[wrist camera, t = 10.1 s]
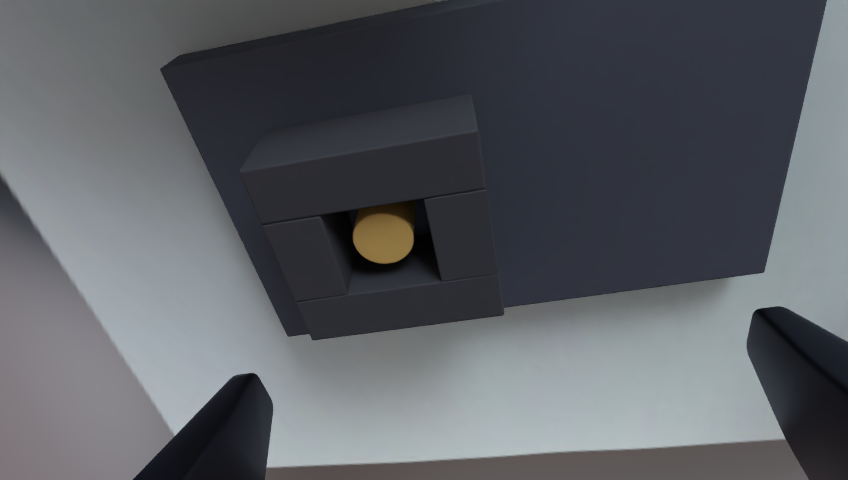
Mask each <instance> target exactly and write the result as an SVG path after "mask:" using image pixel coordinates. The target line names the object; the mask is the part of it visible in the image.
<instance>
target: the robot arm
mask: <svg viewBox="0 0 848 480" xmlns="http://www.w3.org/2000/svg"><path fill="white" fill-rule="evenodd" d="M747 351H748V355H749V358H750V360H751V362H752V364H753V367H754V369H755V371H756V373H757V376H758V378H759V380H760V383H761V385H762V387H763V389H764V392H765V394H766V396H767V398H768V401H769V403H770V405H771V407H772V410H773V412H774V414H775V416H776V419H777V421H778V423H779V425H780V428H781V430H782V432H783V434H784V436H785V438H786V440H787V442H788V444H789V445H790V447H791V449H792V451H793V453H794V454H795V456H796V458H797V460H798V461H799V463H800V465H801V467H802V468H803V470H804V472H805V473H806V475H807V477H808V479H809V480H848V342H847V341H845V340H843V339H841V338H839V337H838V336H836V335H834V334H832V333H830V332H829V331H827V330H825V329H823V328H821V327H820V326H818V325H816V324H814V323H812V322H810V321H809V320H807V319H805V318H803V317H801V316H800V315H798V314H796V313H794V312H792V311H791V310H789V309H787V308H784V307H780V306H778V307H769V308H761V309H757V310H756V311H755V312H754V313H753V315H752V319H751V324H750V329H749V334H748V338H747ZM272 416H273V403H272V400H271V398H270V396H269V394H268V392H267V391H266V389H265V387H264V385H263V384H262V382H261V380H260V378H259V377H258V376H257V375H256V374H254V373H248V374H240V375H236V376H233V377H232V378H231V379H230V380H229V381H228V382H227V383H226V384H225V385H224V386H223V387H222V388H221V389H220V390H219V391H218V392H217V393H216V394H215V395H214V396H213V397H212V398H211V399H210V400H209V401H208V403H207V404H206V405H205V406H204V407H203V408H202V409H201V410H200V411H199V412H198V413H197V414H196V415H195V416H194V417H193V418H192V419H191V420H190V421H189V422H188V423H187V424H186V425H185V426H184V427H183V428H182V429H181V430H180V431H179V432H178V434H177V435H176V436H175V437H174V438H173V439H172V440H171V441H170V442H169V443H168V444H167V445H166V446H165V447H164V448H163V449H162V450H161V451H160V452H159V453H158V454H157V455H156V456H155V457H154V459H152V460H151V461H150V463H149V464H148V465H147V466H146V467H145V468H144V469H143V470H142V471H141V472H140V473H139V474H138V475H137V476H136V477H135V478H134V479H133V480H265V473H266V465H267V457H268V449H269V441H270V432H271V424H272Z"/></svg>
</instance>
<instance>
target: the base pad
mask: <svg viewBox="0 0 848 480" xmlns="http://www.w3.org/2000/svg"><path fill="white" fill-rule="evenodd" d="M826 2H827V0H446V1H441V2H436V3H432V4H427V5H422V6H417V7H412V8H407V9H403V10H398V11H393V12H388V13H383V14H378V15H374V16H369V17H364V18H359V19H354V20H349V21H344V22H340V23H335V24H330V25H325V26H320V27H315V28H311V29H306V30H301V31H296V32H291V33H286V34H282V35H277V36H272V37H267V38H262V39H257V40H252V41H248V42H243V43H238V44H233V45H228V46H223V47H219V48H214V49H209V50H204V51H199V52H194V53H190V54H185V55H180V56H178V57H176V58H175V59H173V60H172V61H171V62H169V63H168V64H166V65H165V66H163V67H162V68H161V69H160V70H161V72H162V75H163V77H164V79H165V81H166V83H167V85H168V87H169V89H170V91H171V93H172V95H173V98H174V100H175V102H176V104H177V106H178V108H179V110H180V112H181V114H182V116H183V118H184V121H185V123H186V125H187V127H188V129H189V131H190V133H191V135H192V137H193V139H194V141H195V144H196V146H197V148H198V150H199V152H200V154H201V156H202V158H203V160H204V162H205V165H206V167H207V169H208V171H209V173H210V175H211V177H212V179H213V181H214V183H215V185H216V188H217V190H218V192H219V194H220V196H221V198H222V200H223V202H224V204H225V206H226V208H227V211H228V213H229V215H230V217H231V219H232V221H233V223H234V225H235V227H236V229H237V231H238V234H239V236H240V238H241V240H242V242H243V244H244V246H245V248H246V250H247V252H248V254H249V257H250V259H251V261H252V263H253V265H254V267H255V269H256V271H257V273H258V275H259V277H260V280H261V282H262V284H263V286H264V288H265V290H266V292H267V294H268V296H269V298H270V300H271V303H272V305H273V307H274V309H275V311H276V313H277V315H278V317H279V319H280V321H281V324H282V326H283V328H284V330H285V332H286V334H287V336H289V337H290V336H297V335H305V334H309V331H308V329H307V327H306V325H305V322H304V320H303V318H302V316H301V313H300V311H299V309H298V307H297V304H296V301H295V300H294V297H293V295H292V293H291V291H290V288H289V286H288V284H287V281H286V279H285V277H284V275H283V272H282V270H281V268H280V266H279V263H278V261H277V259H276V256H275V254H274V252H273V250H272V247H271V245H270V243H269V241H268V238H267V236H266V234H265V232H264V229H263V227H262V225H263V224H262V223H261V222H260V220H259V217H258V215H257V213H256V211H255V208H254V206H253V204H252V202H251V199H250V197H249V195H248V192H247V190H246V188H245V186H244V183H243V181H242V179H241V177H240V174H239V170H240V168H241V167H242V165H243V164H244V162H245V161H246V159H247V158H248V156H249V155H250V153H251V152H252V150H253V149H254V147H255V146H256V144H257V143H258V141H259V140H260V138H261V137H262V135H263V134H264V132H266V131H269V130H274V129H280V128H285V127H291V126H296V125H302V124H307V123H313V122H318V121H324V120H329V119H335V118H340V117H345V116H351V115H356V114H362V113H367V112H373V111H378V110H384V109H389V108H395V107H400V106H406V105H411V104H417V103H422V102H427V101H433V100H438V99H444V98H449V97H455V96H460V95H466V94H471V95H472V99H473V104H474V109H475V114H476V119H477V124H478V130H479V136H480V143H481V150H482V158H483V165H484V172H485V179H486V187H487V194H488V201H489V208H490V215H491V222H492V230H493V237H494V244H495V251H496V258H497V266H498V273H499V280H500V287H501V295H502V302H503V308H505V307H512V306H520V305H527V304H535V303H542V302H549V301H557V300H564V299H572V298H579V297H587V296H594V295H601V294H609V293H616V292H624V291H631V290H639V289H646V288H653V287H661V286H668V285H676V284H683V283H691V282H698V281H705V280H713V279H720V278H728V277H735V276H742V275H750V274H757V273H763V272H764V271H765V266H766V262H767V258H768V253H769V249H770V245H771V240H772V236H773V232H774V227H775V223H776V219H777V214H778V210H779V206H780V201H781V197H782V193H783V188H784V184H785V180H786V175H787V171H788V167H789V162H790V158H791V154H792V149H793V145H794V141H795V136H796V132H797V128H798V123H799V119H800V115H801V110H802V106H803V102H804V97H805V93H806V89H807V84H808V80H809V76H810V71H811V67H812V63H813V58H814V54H815V49H816V45H817V41H818V36H819V32H820V28H821V23H822V19H823V15H824V10H825V6H826ZM347 212H348V215H349V218H350V221H351V224H352V227H353V243H354V245H355V247H356V249H357V251H358V252H359V253H360V254H361V255H362V256H363V257H365V258H366V259H368V260H370V261H373V262H376V263H382V264H387V263H394V262H397V261H399V260H401V259H403V258H404V257H405V256H407V254H408V253H409V252H410V251H411V249H412V247H413V244H414V236H420V235H427V234H431V232H430V227H429V222H428V218H427V213H426V209H425V204H424V198H423V199H417V200H411V201H405V202H398V203H392V204H386V205H380V206H374V207H367V208H361V209H355V210H349V211H347Z"/></svg>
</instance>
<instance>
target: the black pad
mask: <svg viewBox="0 0 848 480" xmlns="http://www.w3.org/2000/svg"><path fill="white" fill-rule="evenodd" d="M239 174H240V177H241V179H242V181H243V183H244V186H245V188H246V190H247V192H248V195H249V197H250V199H251V202H252V204H253V206H254V208H255V211H256V213H257V215H258V217H259V220H260V222H261V223H262V224H263V225H262V227H263V229H264V232H265V234H266V236H267V238H268V241H269V243H270V245H271V247H272V250H273V252H274V254H275V256H276V259H277V261H278V263H279V266H280V268H281V270H282V272H283V275H284V277H285V279H286V281H287V284H288V286H289V288H290V291H291V293H292V295H293V297H294V300H295V301H296V304H297V307H298V309H299V311H300V313H301V316H302V318H303V320H304V322H305V325H306V327H307V329H308V331H309V334H310V336H311V338H312V340H320V339H328V338H335V337H343V336H350V335H358V334H366V333H373V332H381V331H388V330H396V329H403V328H411V327H419V326H426V325H434V324H441V323H449V322H456V321H464V320H472V319H479V318H487V317H494V316H502V315H504V309H503V302H502V295H501V287H500V280H499V273H498V266H497V258H496V251H495V244H494V237H493V230H492V222H491V215H490V208H489V201H488V194H487V187H486V179H485V172H484V165H483V158H482V150H481V143H480V136H479V130H478V124H477V119H476V114H475V109H474V104H473V99H472V95H471V94H466V95H460V96H455V97H449V98H444V99H438V100H433V101H427V102H422V103H417V104H411V105H406V106H400V107H395V108H389V109H384V110H378V111H373V112H367V113H362V114H356V115H351V116H345V117H340V118H335V119H329V120H324V121H318V122H313V123H307V124H302V125H296V126H291V127H285V128H280V129H274V130H269V131H266V132H264V134H263V135H262V137H261V138H260V140H259V141H258V143H257V144H256V146H255V147H254V149H253V150H252V152H251V153H250V155H249V156H248V158H247V159H246V161H245V162H244V164H243V165H242V167H241V168H240V170H239ZM423 198H424V204H425V209H426V213H427V218H428V222H429V227H430V232H431V234H427V235H420V236H414V244H413V247H412V249H411V251H410V252H409V253H408V254H407V256H405V257H404V258H403V259H401V260H399V261H397V262H394V263H387V264H382V263H376V262H373V261H370V260H368V259H366V258H365V257H363V256H362V255H361V254H360V253H359V252H358V251H357V249H356V247H355V245H354V243H353V227H352V224H351V221H350V218H349V215H348V212H347V211H349V210H355V209H361V208H367V207H374V206H380V205H386V204H392V203H398V202H405V201H411V200H417V199H423Z"/></svg>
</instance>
